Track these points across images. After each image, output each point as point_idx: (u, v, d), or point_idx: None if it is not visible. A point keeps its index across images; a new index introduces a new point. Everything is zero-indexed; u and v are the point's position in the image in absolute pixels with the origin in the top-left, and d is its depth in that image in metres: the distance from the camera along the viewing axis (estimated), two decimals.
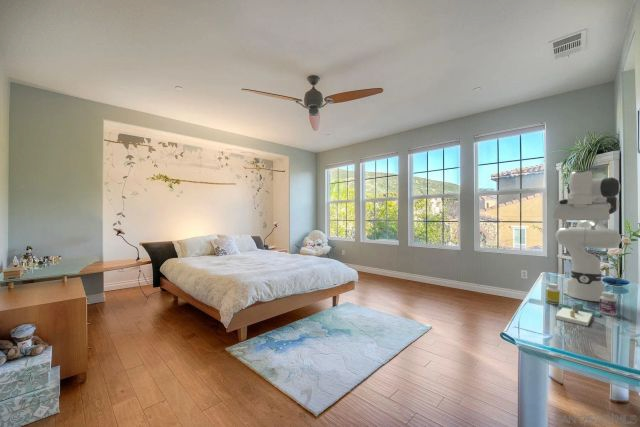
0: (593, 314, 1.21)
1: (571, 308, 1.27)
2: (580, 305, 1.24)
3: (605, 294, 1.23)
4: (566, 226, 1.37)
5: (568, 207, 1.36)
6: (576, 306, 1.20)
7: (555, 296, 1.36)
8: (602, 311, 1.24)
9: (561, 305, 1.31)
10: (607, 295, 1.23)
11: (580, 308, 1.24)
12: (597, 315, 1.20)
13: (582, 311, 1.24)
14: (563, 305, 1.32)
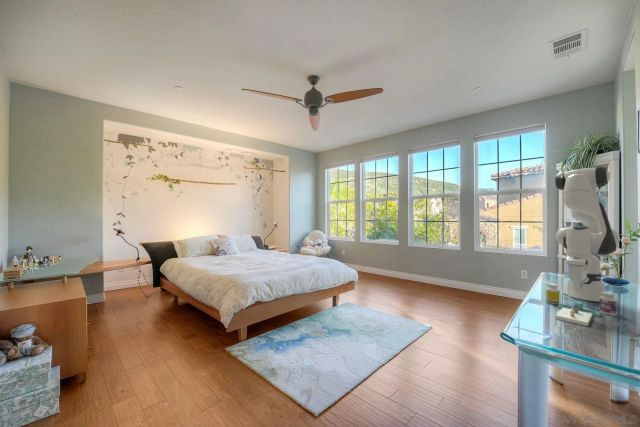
0: (593, 314, 1.21)
1: (571, 308, 1.27)
2: (580, 305, 1.24)
3: (605, 294, 1.23)
4: (579, 288, 1.22)
5: (584, 268, 1.22)
6: (576, 306, 1.20)
7: (555, 296, 1.36)
8: (602, 311, 1.24)
9: (561, 305, 1.31)
10: (607, 295, 1.23)
11: (580, 308, 1.24)
12: (597, 315, 1.20)
13: (582, 311, 1.24)
14: (563, 305, 1.32)
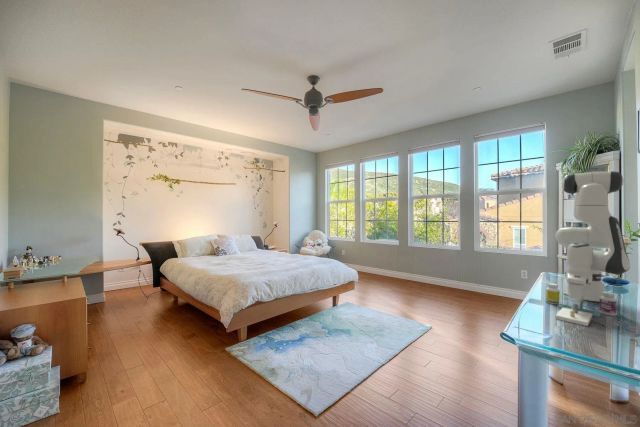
0: (593, 314, 1.21)
1: (571, 308, 1.27)
2: None
3: (605, 294, 1.23)
4: None
5: None
6: (576, 306, 1.20)
7: (555, 296, 1.36)
8: (602, 311, 1.24)
9: (561, 305, 1.31)
10: (607, 295, 1.23)
11: (580, 308, 1.24)
12: (597, 315, 1.20)
13: (582, 311, 1.24)
14: (563, 305, 1.32)
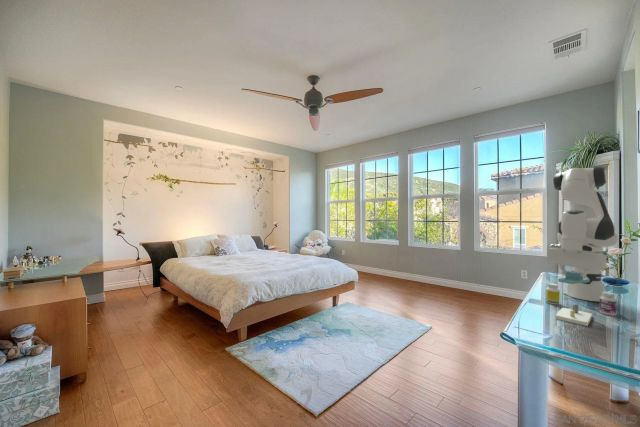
0: (587, 280, 1.20)
1: (577, 280, 1.18)
2: None
3: (605, 294, 1.23)
4: None
5: None
6: (576, 306, 1.20)
7: (555, 296, 1.36)
8: (602, 311, 1.24)
9: (567, 280, 1.18)
10: (607, 295, 1.23)
11: None
12: (589, 280, 1.21)
13: (583, 280, 1.19)
14: None
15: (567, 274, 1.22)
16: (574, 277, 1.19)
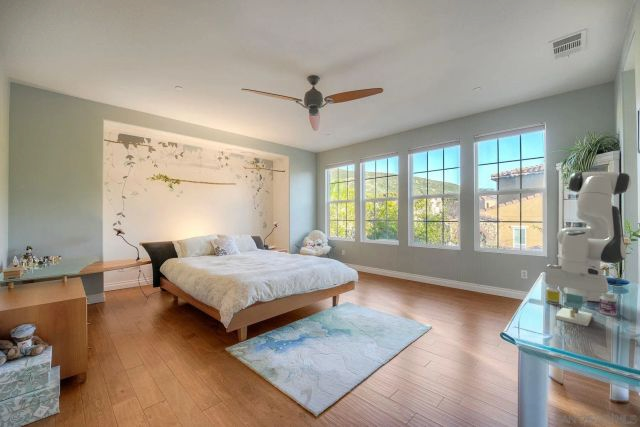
0: (584, 301, 1.20)
1: (580, 303, 1.15)
2: None
3: (605, 294, 1.23)
4: None
5: None
6: None
7: (555, 296, 1.36)
8: (602, 311, 1.24)
9: (573, 304, 1.14)
10: (607, 295, 1.23)
11: None
12: (584, 301, 1.20)
13: (582, 302, 1.17)
14: (567, 303, 1.16)
15: (568, 296, 1.19)
16: (576, 299, 1.17)
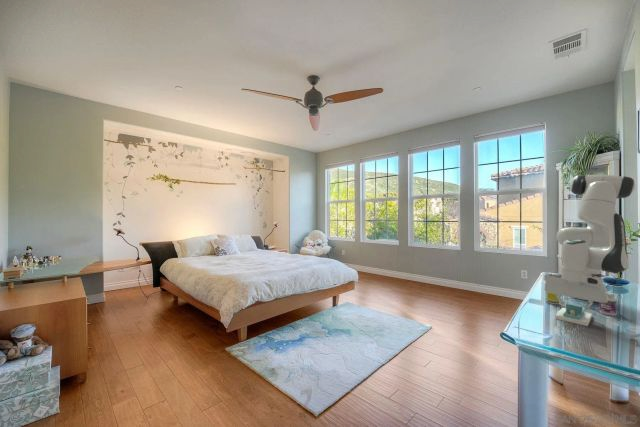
0: (583, 312, 1.20)
1: (580, 314, 1.15)
2: None
3: None
4: None
5: None
6: None
7: (555, 296, 1.36)
8: (602, 311, 1.24)
9: (572, 315, 1.14)
10: None
11: None
12: None
13: (582, 313, 1.17)
14: (567, 314, 1.16)
15: (568, 307, 1.19)
16: (575, 310, 1.17)
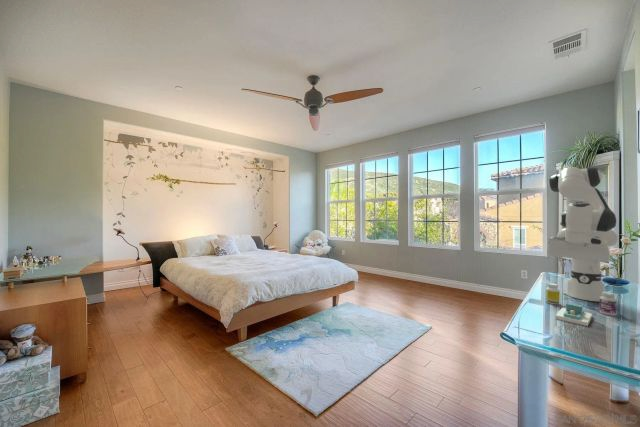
0: (583, 312, 1.20)
1: (580, 314, 1.15)
2: None
3: (605, 294, 1.23)
4: None
5: None
6: None
7: (555, 296, 1.36)
8: (602, 311, 1.24)
9: (572, 315, 1.14)
10: (607, 295, 1.23)
11: None
12: None
13: (582, 313, 1.17)
14: (567, 314, 1.16)
15: (568, 307, 1.19)
16: (575, 310, 1.17)
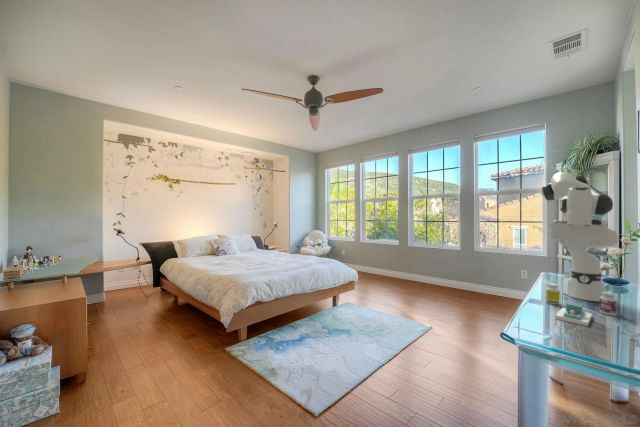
0: (583, 312, 1.20)
1: (580, 314, 1.15)
2: None
3: (605, 294, 1.23)
4: None
5: None
6: None
7: (555, 296, 1.36)
8: (602, 311, 1.24)
9: (572, 315, 1.14)
10: (607, 295, 1.23)
11: None
12: None
13: (582, 313, 1.17)
14: (567, 314, 1.16)
15: (568, 307, 1.19)
16: (575, 310, 1.17)
